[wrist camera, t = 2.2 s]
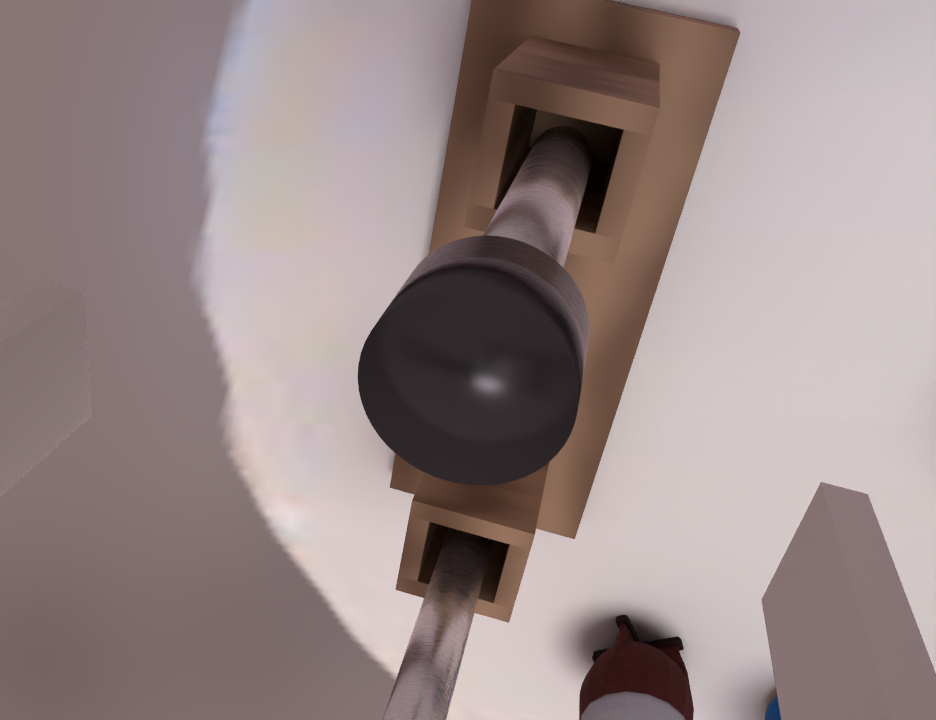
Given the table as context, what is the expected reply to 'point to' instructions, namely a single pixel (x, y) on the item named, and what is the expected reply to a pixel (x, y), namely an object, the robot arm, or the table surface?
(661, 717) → the mate gourd
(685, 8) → the table surface
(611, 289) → the stand
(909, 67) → the table surface
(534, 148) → the plunger
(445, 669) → the plunger
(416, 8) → the table surface
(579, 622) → the table surface
